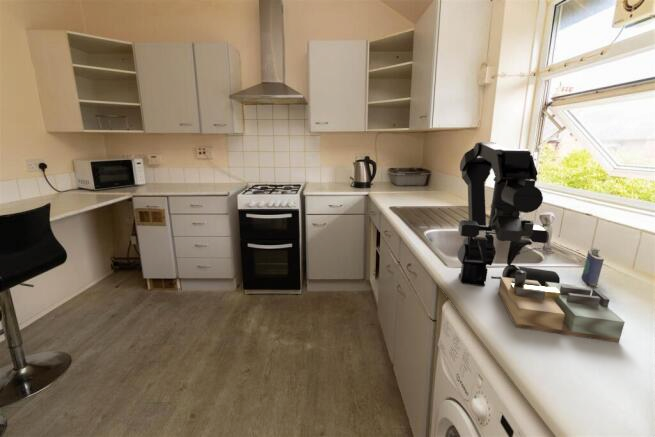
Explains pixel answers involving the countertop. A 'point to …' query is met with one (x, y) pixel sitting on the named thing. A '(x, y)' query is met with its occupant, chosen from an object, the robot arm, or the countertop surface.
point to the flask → (592, 268)
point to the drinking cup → (531, 274)
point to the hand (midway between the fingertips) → (495, 263)
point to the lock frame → (562, 310)
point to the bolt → (520, 282)
